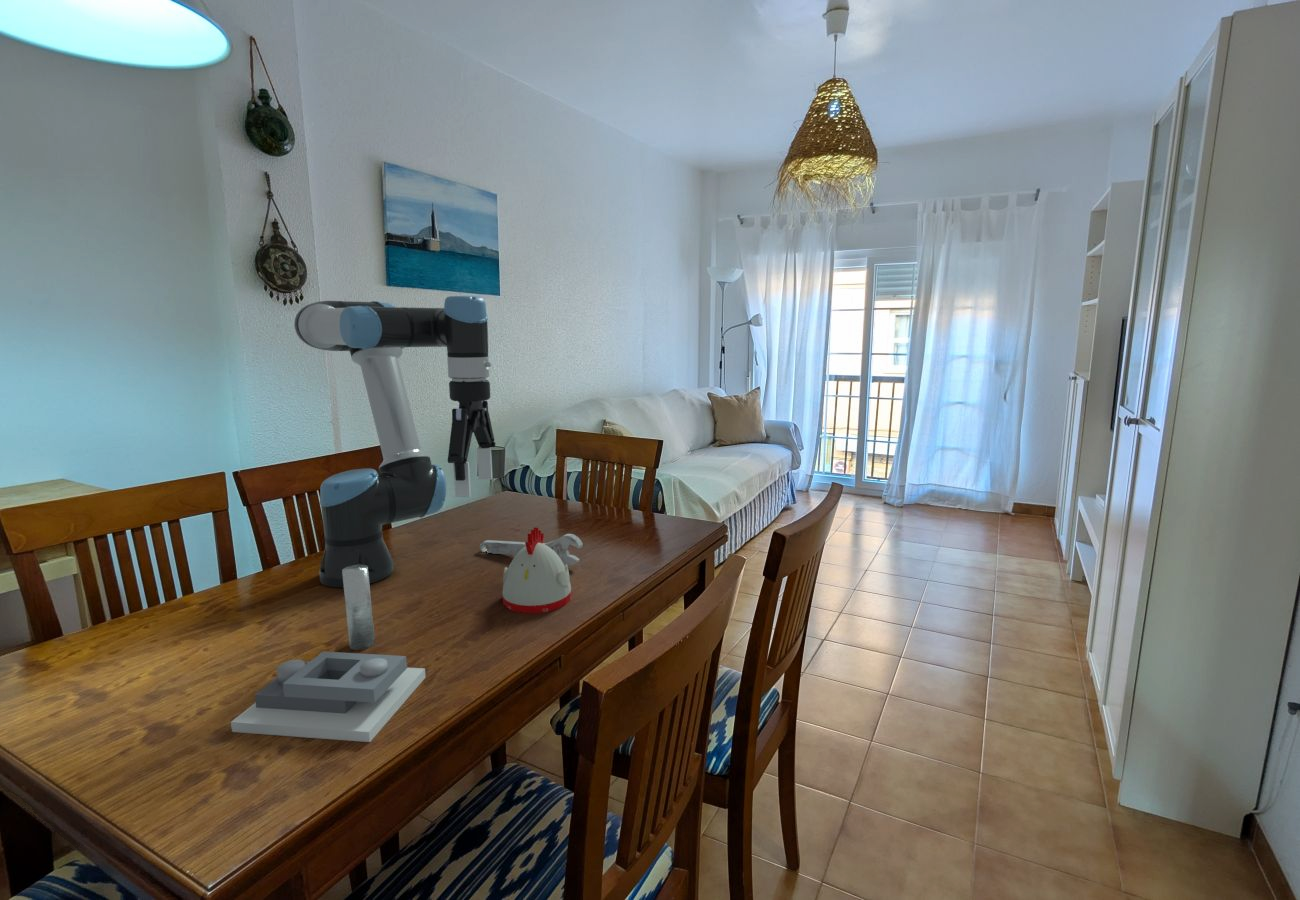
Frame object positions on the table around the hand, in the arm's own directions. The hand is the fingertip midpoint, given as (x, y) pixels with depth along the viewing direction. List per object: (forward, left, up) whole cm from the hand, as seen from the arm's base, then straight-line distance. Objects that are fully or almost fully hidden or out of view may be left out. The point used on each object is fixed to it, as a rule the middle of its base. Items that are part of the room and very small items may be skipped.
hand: (475, 487), depth 123 cm
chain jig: (-8, -37, -24) cm, 45 cm away
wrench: (+3, +23, -24) cm, 33 cm away
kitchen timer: (+11, +2, -24) cm, 26 cm away
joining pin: (-14, -20, -24) cm, 34 cm away
